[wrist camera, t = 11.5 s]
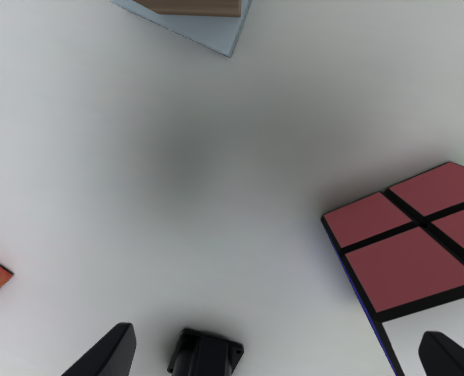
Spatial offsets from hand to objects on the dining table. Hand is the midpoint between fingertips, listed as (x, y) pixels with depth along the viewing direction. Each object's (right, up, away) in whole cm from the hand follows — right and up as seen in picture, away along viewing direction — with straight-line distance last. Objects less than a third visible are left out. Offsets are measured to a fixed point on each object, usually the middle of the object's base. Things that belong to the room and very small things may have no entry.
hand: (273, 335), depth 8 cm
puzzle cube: (+12, +1, +13) cm, 18 cm away
